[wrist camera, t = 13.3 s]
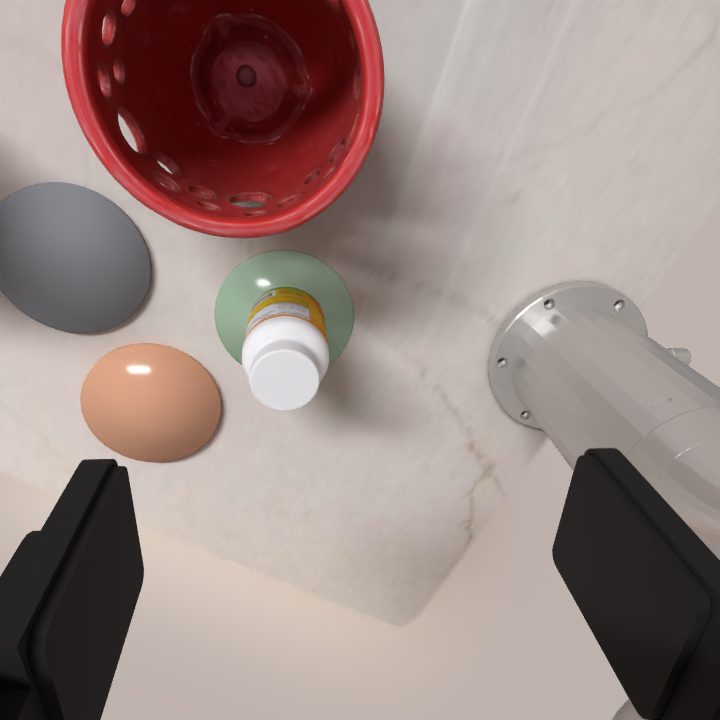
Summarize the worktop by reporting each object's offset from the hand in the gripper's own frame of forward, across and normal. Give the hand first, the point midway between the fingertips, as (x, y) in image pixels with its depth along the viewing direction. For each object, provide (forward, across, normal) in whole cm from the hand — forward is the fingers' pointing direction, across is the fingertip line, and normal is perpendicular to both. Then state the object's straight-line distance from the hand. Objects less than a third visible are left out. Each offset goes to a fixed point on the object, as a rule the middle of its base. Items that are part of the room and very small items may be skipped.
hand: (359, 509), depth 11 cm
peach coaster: (+28, +12, +14) cm, 34 cm away
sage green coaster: (+29, +2, +7) cm, 30 cm away
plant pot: (+29, +4, -8) cm, 30 cm away
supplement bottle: (+28, +2, +7) cm, 29 cm away
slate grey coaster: (+29, +16, +3) cm, 33 cm away
